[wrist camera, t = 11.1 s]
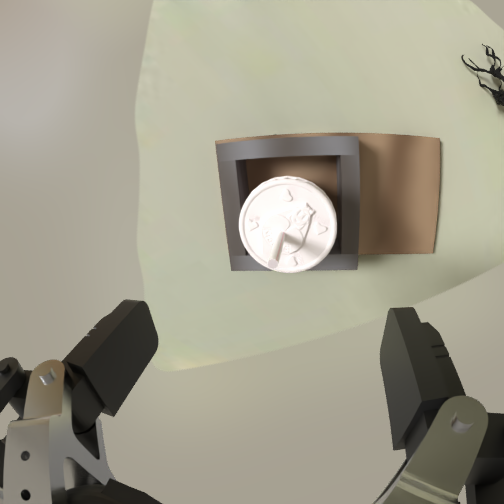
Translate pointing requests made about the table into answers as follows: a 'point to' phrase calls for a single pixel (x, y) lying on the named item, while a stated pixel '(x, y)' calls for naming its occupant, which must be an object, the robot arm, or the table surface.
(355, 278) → the table surface
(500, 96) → the creature
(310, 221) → the smoothie
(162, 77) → the table surface
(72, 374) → the robot arm
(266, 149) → the board
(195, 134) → the table surface
